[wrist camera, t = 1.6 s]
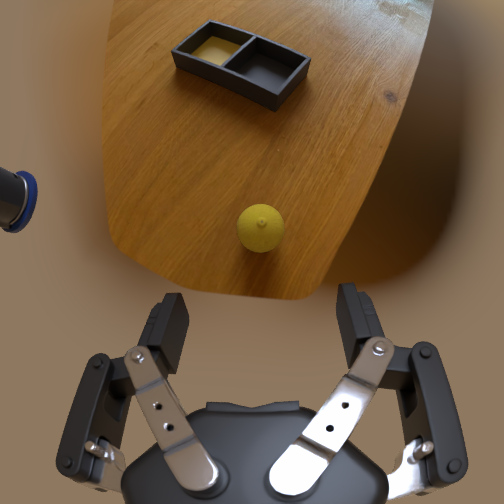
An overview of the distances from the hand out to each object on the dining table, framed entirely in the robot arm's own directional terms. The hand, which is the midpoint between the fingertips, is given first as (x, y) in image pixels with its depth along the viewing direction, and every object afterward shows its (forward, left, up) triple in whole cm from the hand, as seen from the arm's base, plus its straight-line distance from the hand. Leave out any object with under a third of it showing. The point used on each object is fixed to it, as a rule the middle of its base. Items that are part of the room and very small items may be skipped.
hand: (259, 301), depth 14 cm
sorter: (+28, +21, -22) cm, 42 cm away
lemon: (+6, +3, -22) cm, 23 cm away
